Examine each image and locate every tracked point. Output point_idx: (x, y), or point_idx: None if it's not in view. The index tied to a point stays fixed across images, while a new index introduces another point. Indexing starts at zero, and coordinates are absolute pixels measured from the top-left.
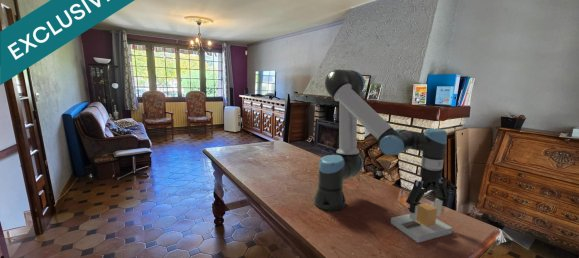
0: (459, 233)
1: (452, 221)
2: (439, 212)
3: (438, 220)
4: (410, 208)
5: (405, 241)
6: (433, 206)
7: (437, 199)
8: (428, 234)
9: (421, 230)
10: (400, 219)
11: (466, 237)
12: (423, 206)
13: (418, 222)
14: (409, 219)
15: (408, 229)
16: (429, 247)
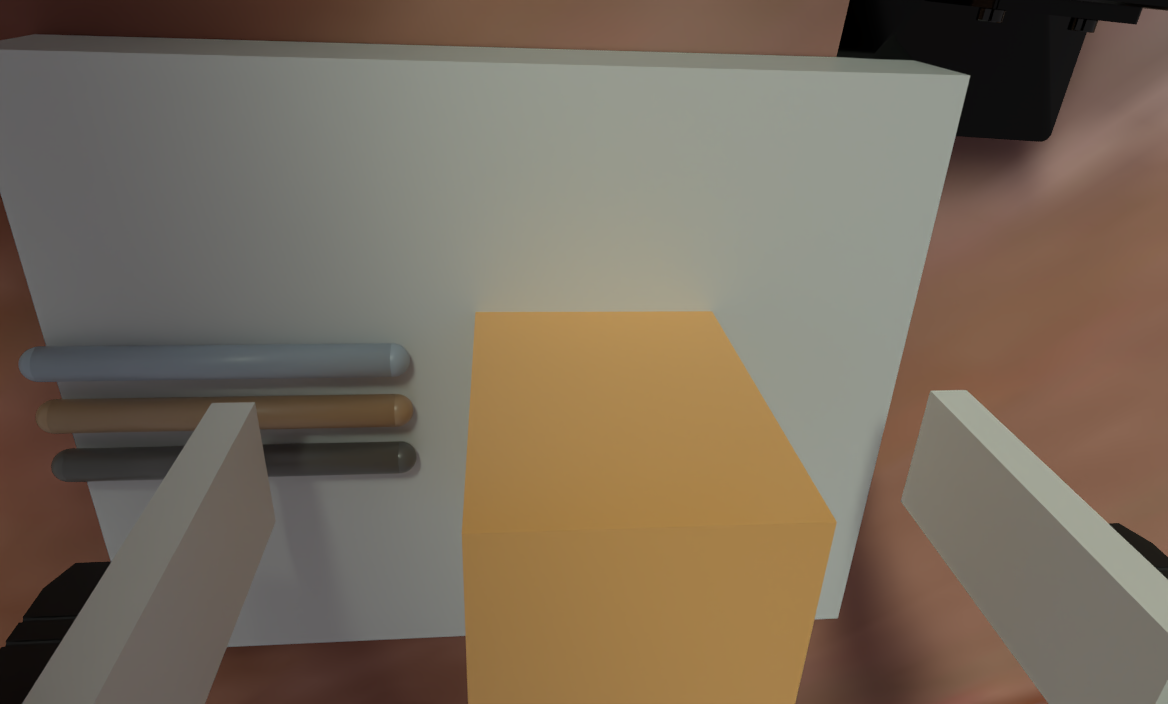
0: (895, 576)
1: (1155, 367)
2: (933, 540)
3: (861, 438)
4: (9, 667)
5: (4, 518)
6: (794, 694)
7: (1153, 697)
8: (345, 636)
9: (311, 558)
10: (159, 186)
11: (877, 642)
12: (540, 638)
13: (460, 383)
14: (365, 253)
15: (97, 487)
16: (261, 663)
